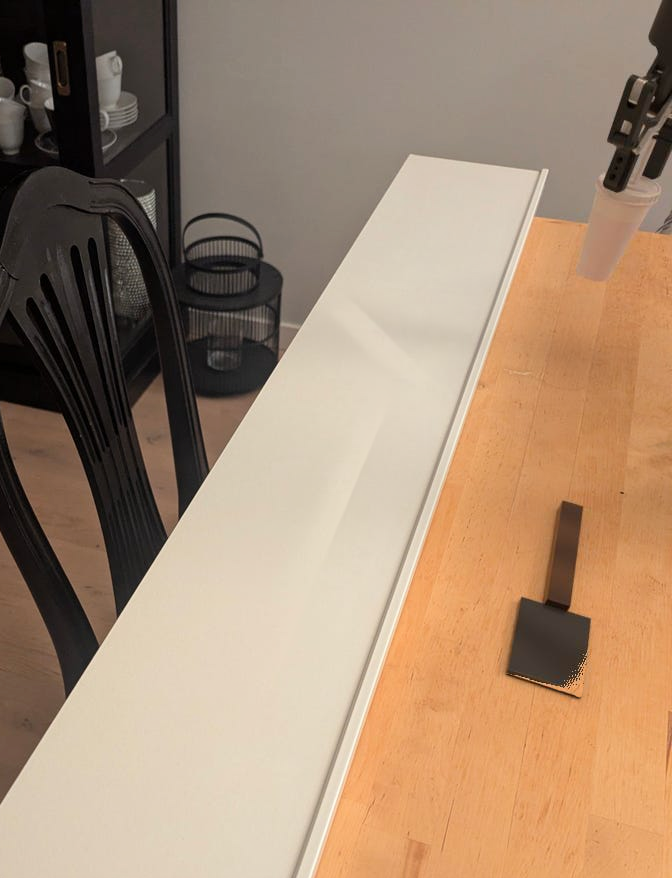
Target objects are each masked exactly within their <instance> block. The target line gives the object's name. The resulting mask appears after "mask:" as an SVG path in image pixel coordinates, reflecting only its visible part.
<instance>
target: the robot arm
mask: <svg viewBox="0 0 672 878" xmlns="http://www.w3.org/2000/svg"><path fill="white" fill-rule="evenodd" d="M647 38H648V41H649V43H650V45H652V47H655V49H656V51H657V55H656V57H655V58H654V60H653V62H652V63H651V65H650V67H649V68H648V70H647V72H646V74H645V75H644V76H640V75H637V74H631V75H630V76H629V77H628V78H627V80H626V83H625V85H624V88H623V89H624V90H623V91H622V94H621V97H620V100H619V103H618V106H617V109H616V112H615V115H614V118H613V121H612V122H611V123H612V124H611V127H610V130H609V132H608V135H607V138H606V142H607V143H608V144H611V145H612V146H614V147H616V148H615V151H614V153H613V156H612V158H611V160H610V163H609V165H608V168H607V170H606V172H607V173H606V175H605V178H604V180H603V186H604V188H606V189H609V190H611V191H613V192H615V193H619V192H622V191H624V190H625V188H626V186H627V184H628V181H629V179H630V177H631V174H632V173H634V169H635V167H636V165H637V162H638V160H639V157H640V156H641V155H640V153H641V152H642V150H643V149H644V147H645V145H646V144H647V143H648V140H649V139H650V138H651V139H656V143H655V145H654V147H653V150H652V152H651V154H650V157H649V159H648V161H647V164H646V166H645V168H644V171H643V173H642V176H645V177H647V178H649V179H651V180H653V181H654V180H656V179H659V178H660V177H661V175H662V174H663V171H664V169H665V167H666V164H667V162H668V160H669V158H670V155H671V153H672V0H661V1H660V4H659V7H658V10H657V12H656V14H655V17H654V19H653V21H652V25H651V27H650V29H649V32H648V37H647ZM649 115H651V116H649ZM652 116H653V117H652ZM642 129H643V130H642ZM654 133H657V134H654ZM651 136H652V137H651Z"/></svg>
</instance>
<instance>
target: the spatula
mask: <svg viewBox="0 0 672 878" xmlns="http://www.w3.org/2000/svg"><path fill="white" fill-rule="evenodd" d="M556 513H557V514H556V519H555V524H554V531H553V537H552V543H551V550H550V557H549V563H548V567H547V568H548V569H547V576H546V582H545V588H544V593H543V600H542V602H540V601H538V600H537V601H536V600H534V599H531V598H527V597H524V596H521V597H520V598H519V601H518V605H517V611H516V617H515V621H514V628H513V633H512V637H511V644H510V649H509V653H508V659H507V664H508V666H507V665H506V670H507V671H506V670H505V674H506V673H508V674H512V675H518V676H521V677H525V678H529V679H530V680H534V681H537V682H541V683H546V684H551V685H555V686H560V687H563V688H564V687H565V686H566V685H567V683H568V682H569V680H570V679H571V680H570V683H571V684H572V683H573V682H574V680H575V678H576V677H577V675H578V673H579V672H580V670H581V668H582V667H580V665H581V664H582V662H583V664H584V662H585V660H586V658H587V659H588V655H587V656H585V655H586V653H587V650H589V641H590V633H591V622H592V618H590V617H588V616H585V615H582V614H579V613H575V612H572V611H569V610H570V608H571V604H572V597H573V590H574V582H575V574H576V566H577V558H578V552H579V551H578V550H579V543H580V537H581V536H580V535H581V528H582V521H583V520H582V519H583V513H584V506H583V505H580V504H578V503H574V502H571V501H567V500H564V499H562V500H561V502H560V504H559V506H558V508H557V512H556ZM583 654H584V655H583ZM587 654H588V653H587ZM584 657H586V658H584ZM583 659H584V661H583ZM579 663H580V664H579ZM583 664H582V666H583ZM578 665H579V666H578ZM585 665H586V666H587V663H586V664H585ZM579 667H580V669H579ZM583 668H584V667H583ZM578 669H579V671H578ZM575 670H576V671H575ZM572 671H573V672H572ZM582 671H583V669H582ZM582 671H581V672H582ZM508 674H507V675H508ZM575 674H576V676H575ZM580 674H581V673H579V676H580ZM572 675H573V677H572ZM582 675H583V673H582ZM569 676H570V677H569ZM579 676H578V677H579ZM573 678H574V679H573ZM572 679H573V682H571V681H572ZM577 679H578V678H576V681H577ZM564 680H565V681H564ZM567 680H568V681H567ZM579 680H580V678H579ZM566 682H567V683H566ZM570 683H568V686H569V684H570ZM564 684H565V686H564ZM561 685H562V686H561ZM573 685H574V684H573ZM576 685H577V684H576ZM568 686H567V687H568ZM570 686H571V685H570ZM569 688H570V687H569ZM569 688H568V689H569Z"/></svg>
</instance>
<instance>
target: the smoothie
mask: <svg viewBox="0 0 672 878" xmlns="http://www.w3.org/2000/svg"><path fill="white" fill-rule="evenodd" d="M655 143H656V139H652V138H650V140H649V142H648V145H647V147H646V149H645V152H644V154H643V157H642V159H641V161H640V164H639V166H638V168H637V171H636V172H632V174H631V177H630V179H629V181H628V184H627V186H626V188H625V190H624V191H622V192H619V193H615V192H613V191H611V190H609V189H606V188H604V186H603V180H604V178H605V175H606V173H607V171H604V172H602V173H601V174H600V175H599V177H598V179H597V182H596V183H595V185H594V186H595V189H596V193H595V197H594V201H593V204H592V208H591V212H590V215H589V219H588V223H587V226H586V229H585V234H584V238H583V242H582V243H581V248H580V252H579V256H578V260H577V262H576V267H575V273H576V274H577V275H578V276H579V277H581V278H583V279H585V280H588V281H591V282H607V281H608V280H609V279H610V278H611V276H612V275H613V273H614V271H615V269H616V268H617V265H618V264H619V262H620V260H621V259H622V257H623V255H624V254H625V252H626V251H627V248H628V247H629V246H630V243H631V241H632V240H633V239H634V236H635V235H636V233H637V231H638V230H639V228H640V226H641V224H642V223H643V221H644V220H645V218H646V216H647V214H648V213H649V211H650V209H651V207H652V206H653V205H654V204H656V203H658V201H659V199H660V198H659V197H660V195H661V193H662V188H661V185H660V184H659V183H657V182H656V181H655V180H654V179H653V180H652V179H649V178H647V177H645V176H642V173H643V171H644V168H645V166H646V164H647V161H648V159H649V157H650V154H651V152H652V150H653V147H654V145H655Z"/></svg>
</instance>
